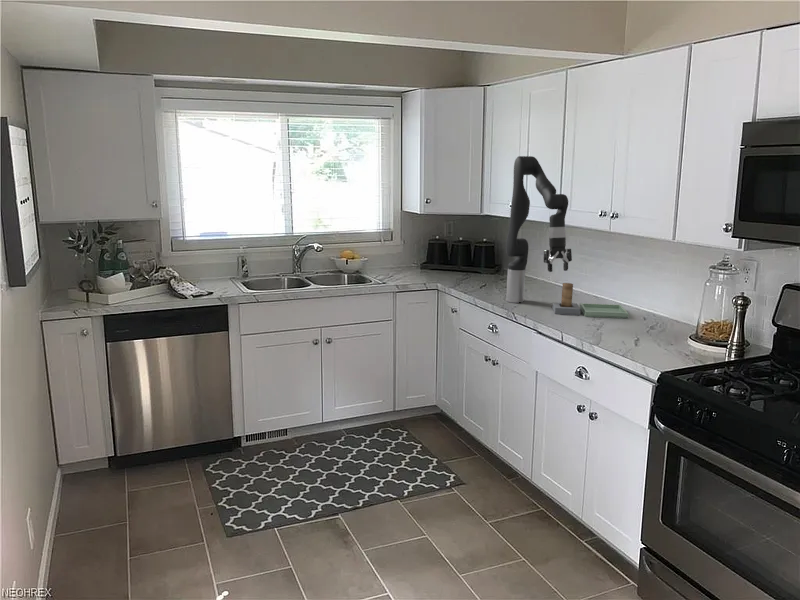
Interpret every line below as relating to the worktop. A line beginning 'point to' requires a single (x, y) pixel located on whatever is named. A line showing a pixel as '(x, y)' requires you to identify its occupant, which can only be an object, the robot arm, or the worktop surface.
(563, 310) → the socket block
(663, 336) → the worktop surface
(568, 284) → the dowel
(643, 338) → the worktop surface
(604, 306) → the tray
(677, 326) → the worktop surface
